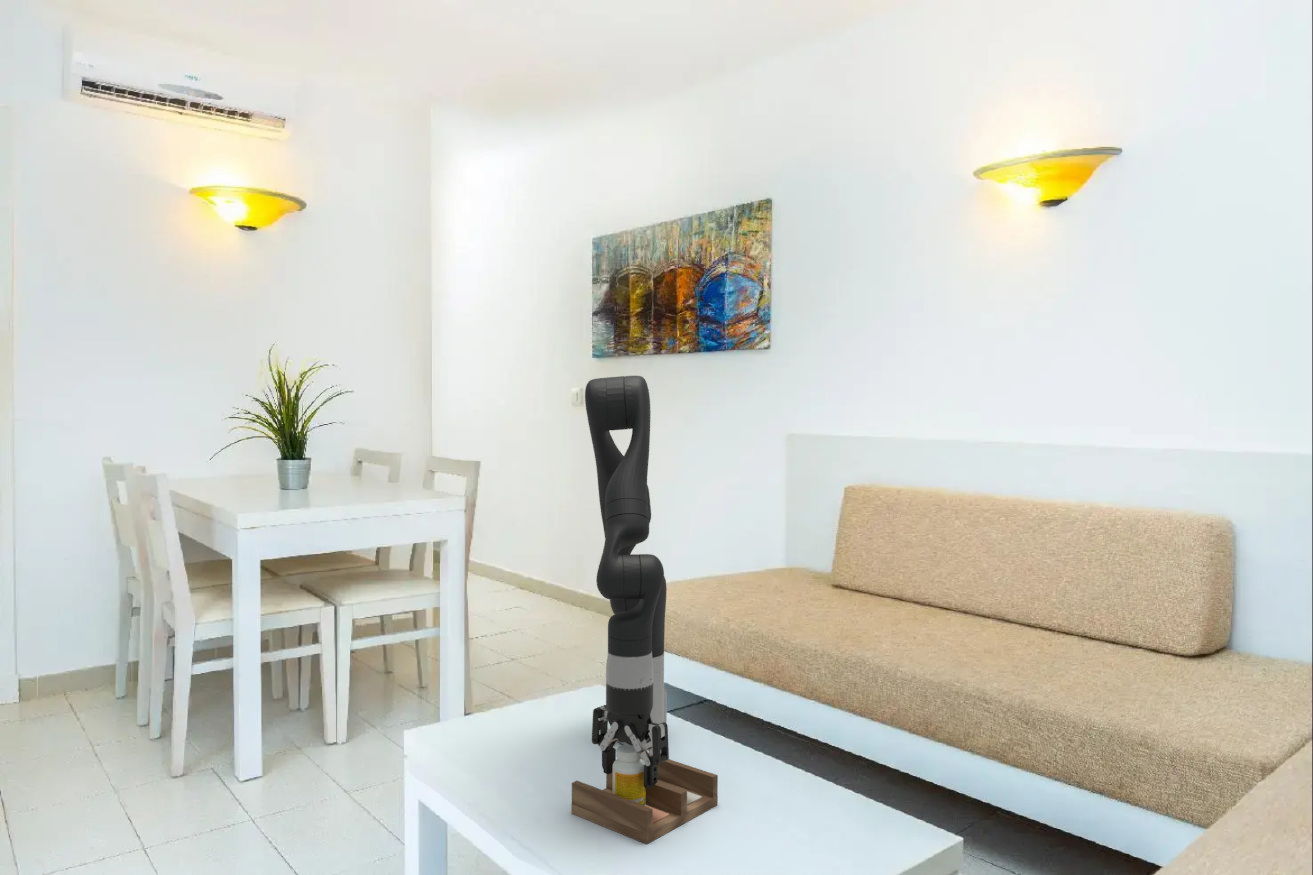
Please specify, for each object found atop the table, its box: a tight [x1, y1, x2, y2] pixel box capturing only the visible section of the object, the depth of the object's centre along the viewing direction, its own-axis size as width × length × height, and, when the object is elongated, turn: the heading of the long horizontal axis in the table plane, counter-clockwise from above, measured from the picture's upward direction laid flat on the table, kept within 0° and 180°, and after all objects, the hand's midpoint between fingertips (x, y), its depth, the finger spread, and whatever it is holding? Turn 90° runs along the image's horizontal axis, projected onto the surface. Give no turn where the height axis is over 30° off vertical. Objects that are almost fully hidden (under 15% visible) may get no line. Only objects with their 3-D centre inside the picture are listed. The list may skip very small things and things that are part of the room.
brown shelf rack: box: [570, 752, 719, 845], centre depth 154 cm, size 18×16×5 cm
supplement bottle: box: [612, 744, 646, 806], centre depth 150 cm, size 5×5×10 cm
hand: (629, 779), depth 150 cm, fingers open, 8 cm apart
